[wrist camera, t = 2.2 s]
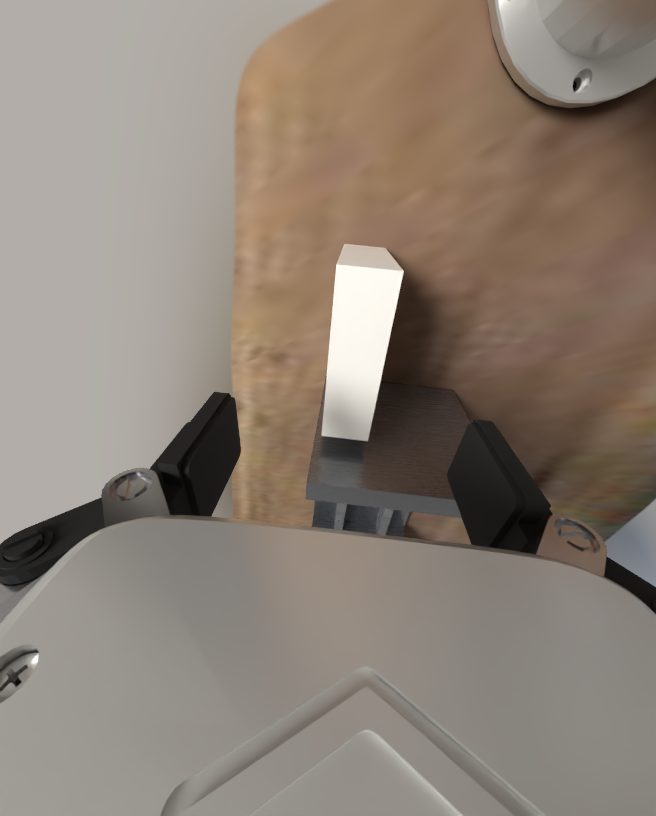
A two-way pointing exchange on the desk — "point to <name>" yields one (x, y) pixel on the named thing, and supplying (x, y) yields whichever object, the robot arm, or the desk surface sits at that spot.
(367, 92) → the desk surface
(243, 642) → the robot arm
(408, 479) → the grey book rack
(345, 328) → the door
